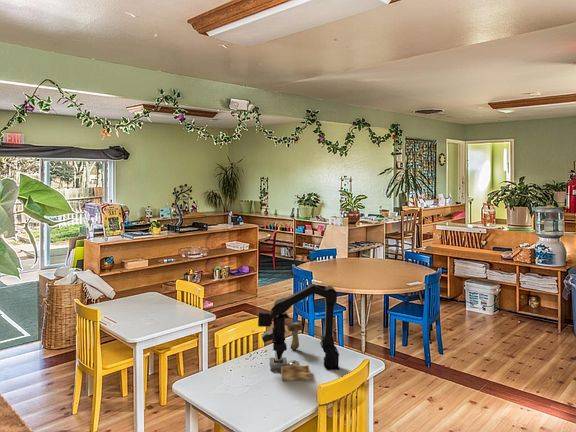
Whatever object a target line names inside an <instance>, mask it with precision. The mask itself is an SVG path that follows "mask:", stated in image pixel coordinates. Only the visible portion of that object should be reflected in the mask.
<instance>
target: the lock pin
mask: <svg viewBox="0 0 576 432" xmlns="http://www.w3.org/2000/svg"><path fill="white" fill-rule="evenodd" d="M274 358H275V363H282V358H283V355H282V356H281V358H280V359H278V358H277V352H276V351H274Z"/></svg>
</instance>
